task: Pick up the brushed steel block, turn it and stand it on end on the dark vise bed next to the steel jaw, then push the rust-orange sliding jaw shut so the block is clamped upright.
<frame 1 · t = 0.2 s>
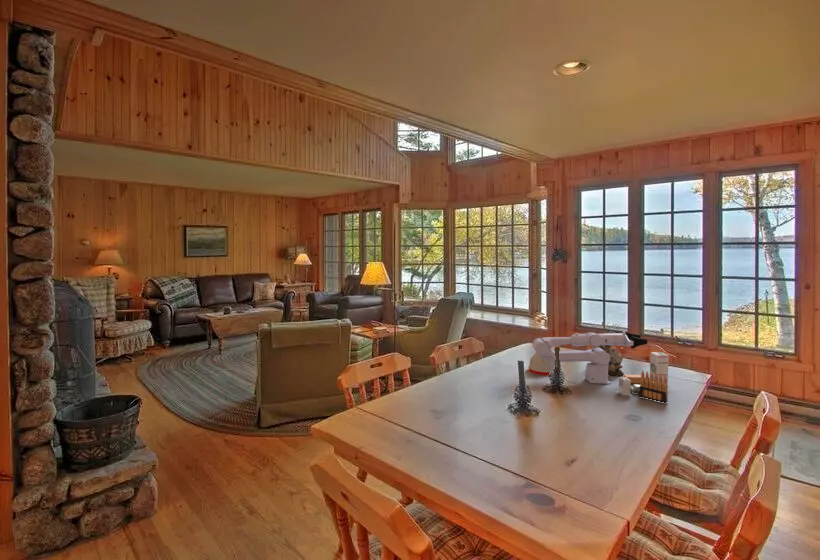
hand: (643, 339, 198), 21 cm above the table, tool horizontal, fingers open, 7 cm apart
ammunition clip: (652, 400, 177), on the table
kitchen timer: (542, 371, 219), on the table
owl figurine: (605, 372, 217), on the table
sliding jaw: (636, 379, 196), point 3 cm above the table, slide at 0.0 cm
steel block: (624, 394, 185), on the table
syrup box: (658, 383, 199), on the table
vise: (641, 389, 190), on the table
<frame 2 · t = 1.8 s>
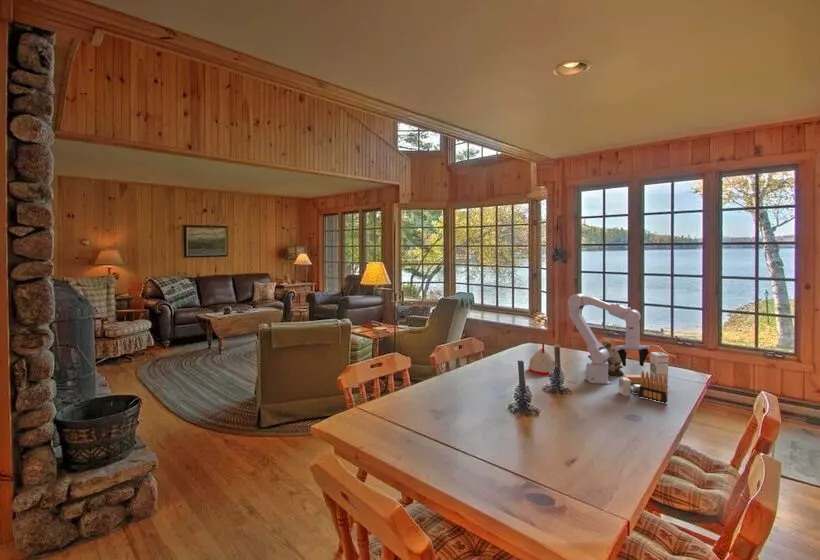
hand: (632, 365, 192), 10 cm above the table, tool pointing down, fingers open, 7 cm apart
nothing on the table moved.
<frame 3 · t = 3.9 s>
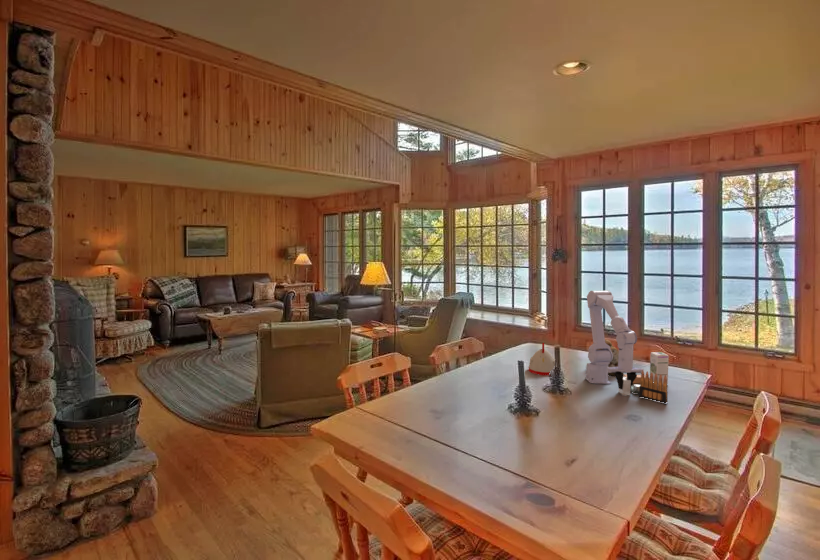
hand: (624, 388, 184), 2 cm above the table, tool pointing down, fingers closed on steel block, 3 cm apart
steel block: (624, 393, 185), on the table, touching gripper
everything else where it was.
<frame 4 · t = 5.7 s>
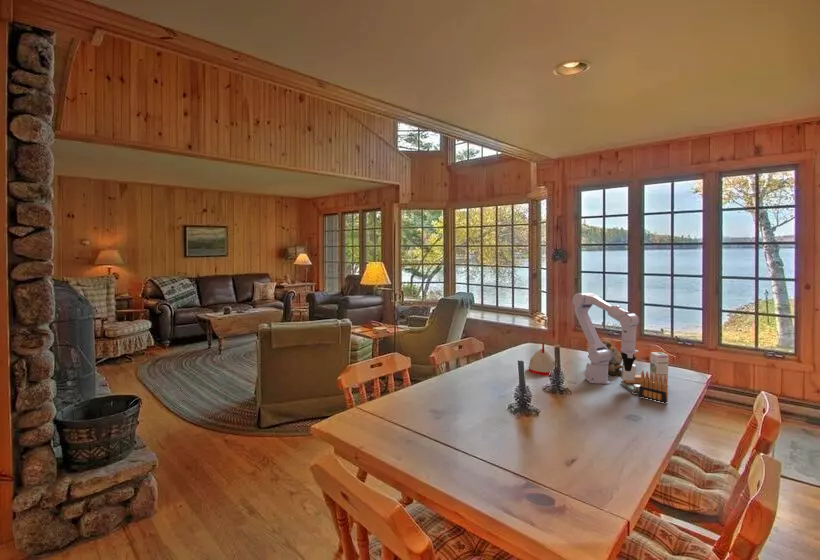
hand: (627, 369, 189), 9 cm above the table, tool pointing down, fingers closed on steel block, 3 cm apart
steel block: (627, 379, 189), point 5 cm above the table, touching gripper
everything else where it was.
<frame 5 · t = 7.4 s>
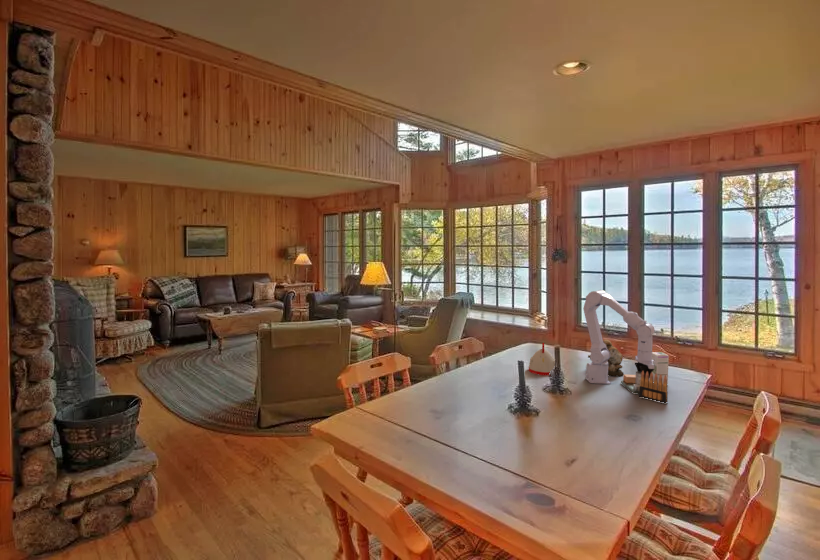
hand: (643, 380, 188), 5 cm above the table, tool pointing down, fingers closed on steel block, 3 cm apart
steel block: (642, 387, 188), point 1 cm above the table, touching gripper, vise
everything else where it was.
when the fingers open (5 cm above the table, at t = 7.7 s): steel block stays where it is, resting on vise.
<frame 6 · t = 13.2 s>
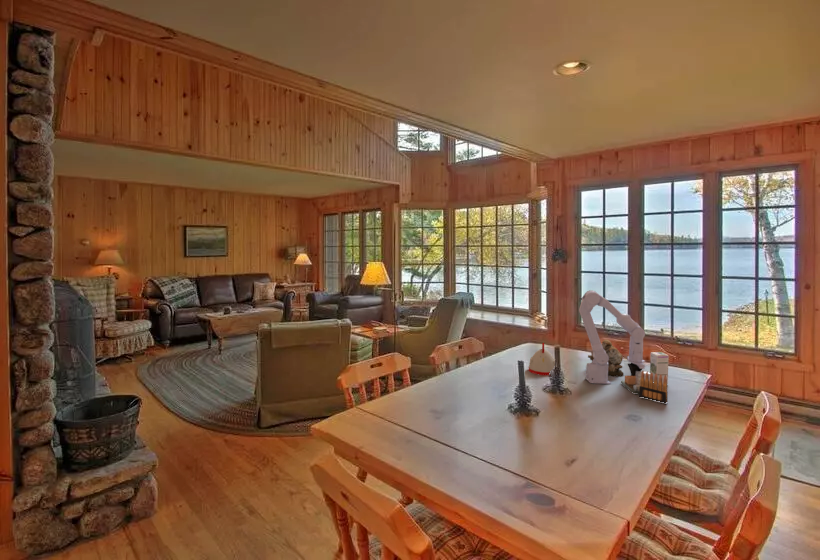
hand: (634, 379, 197), 2 cm above the table, tool pointing down, fingers closed
sliding jaw: (637, 380, 194), point 3 cm above the table, slide at 1.7 cm, touching gripper
steel block: (642, 387, 188), point 1 cm above the table, touching vise
everything else where it was.
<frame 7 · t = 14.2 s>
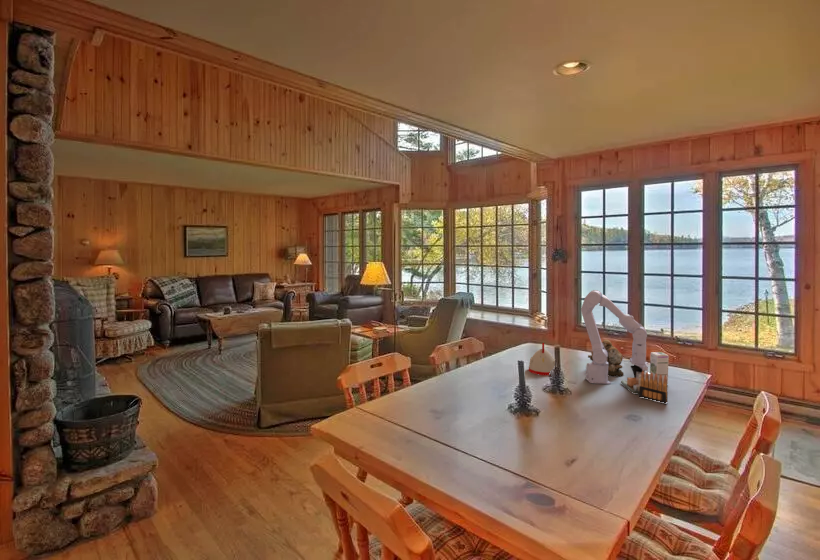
hand: (637, 381, 194), 2 cm above the table, tool pointing down, fingers closed
sliding jaw: (640, 382, 191), point 3 cm above the table, slide at 4.5 cm, touching gripper, steel block
steel block: (642, 387, 188), point 2 cm above the table, touching sliding jaw, vise
everything else where it was.
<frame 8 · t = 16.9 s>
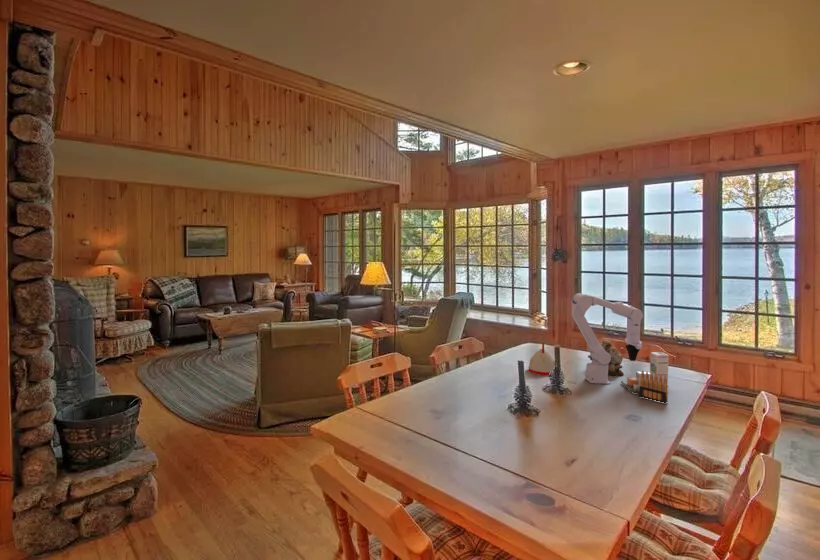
hand: (632, 360, 200), 10 cm above the table, tool pointing down, fingers closed
sliding jaw: (640, 382, 191), point 3 cm above the table, slide at 4.5 cm
steel block: (642, 387, 188), point 1 cm above the table, touching vise
everything else where it was.
at the end: steel block 0.4 cm from the target spot, point 1.5 cm above the table; steel block tilted 0°; sliding jaw slide at 4.5 cm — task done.
